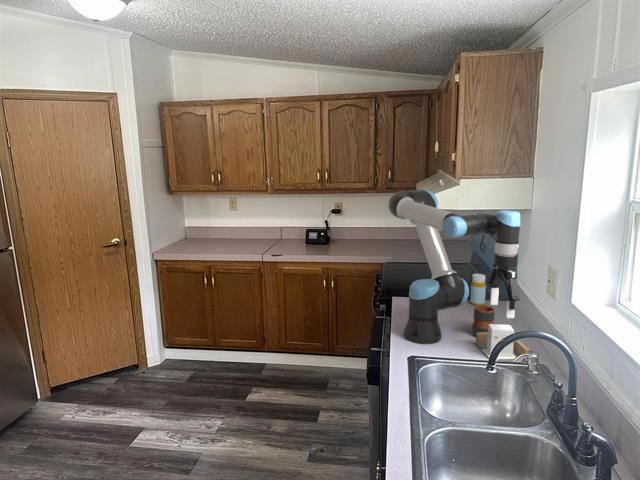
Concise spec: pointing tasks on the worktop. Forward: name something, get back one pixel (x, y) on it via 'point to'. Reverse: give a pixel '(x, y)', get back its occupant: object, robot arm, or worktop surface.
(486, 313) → the mug
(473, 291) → the bottle
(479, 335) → the brown piece
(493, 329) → the small box
